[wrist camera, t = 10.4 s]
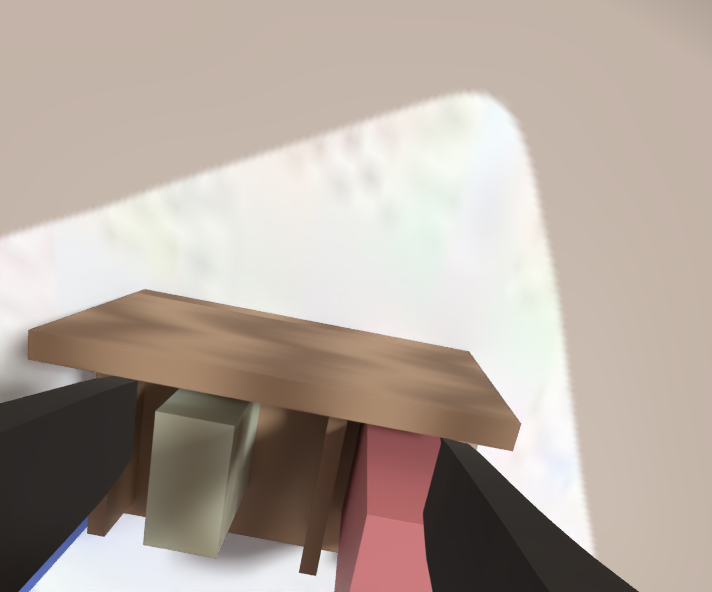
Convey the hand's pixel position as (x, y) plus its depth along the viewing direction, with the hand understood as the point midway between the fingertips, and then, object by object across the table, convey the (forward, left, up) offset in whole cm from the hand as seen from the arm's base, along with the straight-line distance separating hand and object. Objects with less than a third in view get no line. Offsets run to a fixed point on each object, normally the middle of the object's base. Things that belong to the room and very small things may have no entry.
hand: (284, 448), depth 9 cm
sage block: (-4, -6, -10) cm, 12 cm away
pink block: (+4, -6, -10) cm, 12 cm away
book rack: (-1, -6, -10) cm, 12 cm away
